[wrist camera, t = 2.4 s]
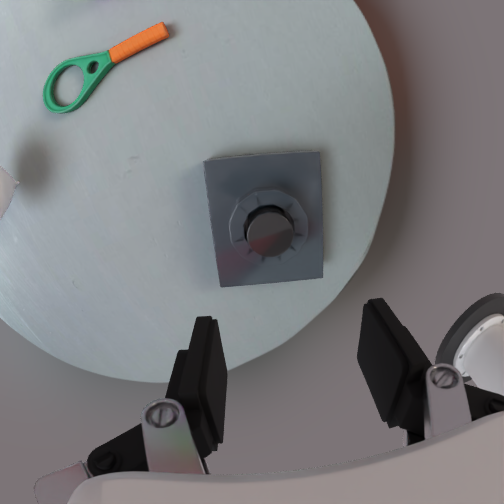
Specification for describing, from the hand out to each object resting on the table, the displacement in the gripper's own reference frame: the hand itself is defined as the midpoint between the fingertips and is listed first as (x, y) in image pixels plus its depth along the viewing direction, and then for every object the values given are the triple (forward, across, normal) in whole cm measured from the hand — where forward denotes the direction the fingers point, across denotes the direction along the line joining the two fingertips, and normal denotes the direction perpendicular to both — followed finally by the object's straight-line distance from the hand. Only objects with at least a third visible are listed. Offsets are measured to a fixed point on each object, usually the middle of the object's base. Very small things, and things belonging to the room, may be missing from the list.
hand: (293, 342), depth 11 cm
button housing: (+20, 0, 0) cm, 20 cm away
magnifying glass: (+20, +15, -18) cm, 31 cm away
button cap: (+15, 0, 0) cm, 15 cm away
